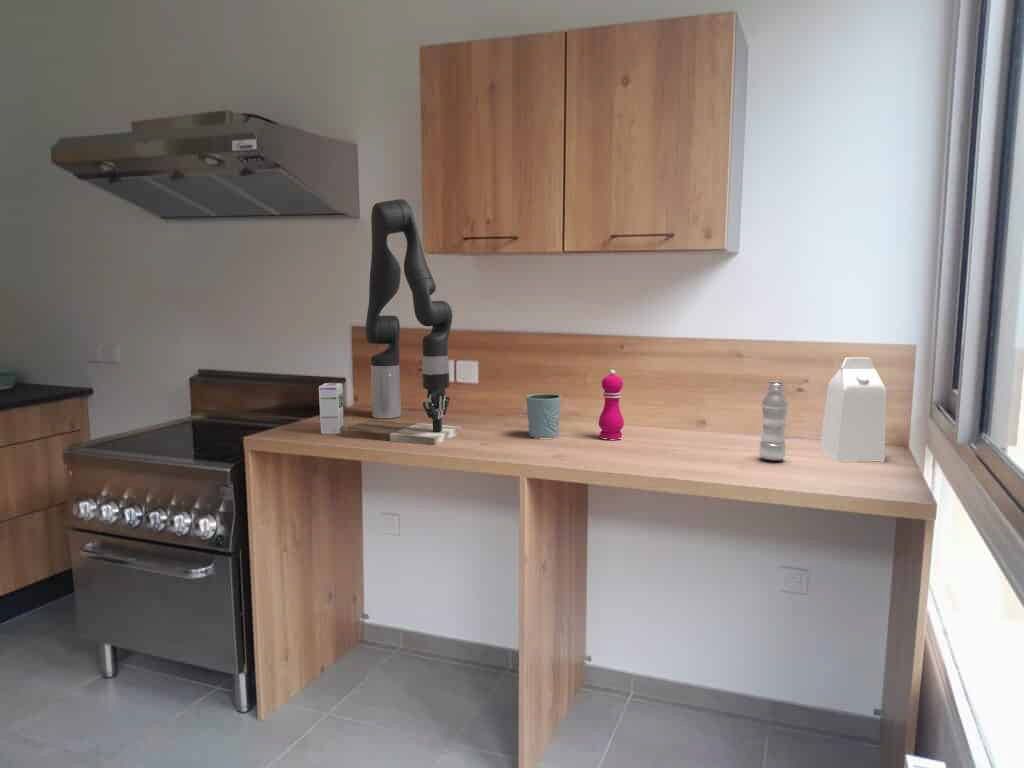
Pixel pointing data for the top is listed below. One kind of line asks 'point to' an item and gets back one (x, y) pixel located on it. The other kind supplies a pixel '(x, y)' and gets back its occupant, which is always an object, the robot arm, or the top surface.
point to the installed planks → (374, 429)
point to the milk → (855, 413)
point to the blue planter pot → (543, 415)
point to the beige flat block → (424, 434)
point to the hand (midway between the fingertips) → (437, 431)
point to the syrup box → (331, 408)
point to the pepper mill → (611, 407)
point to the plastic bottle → (774, 423)
